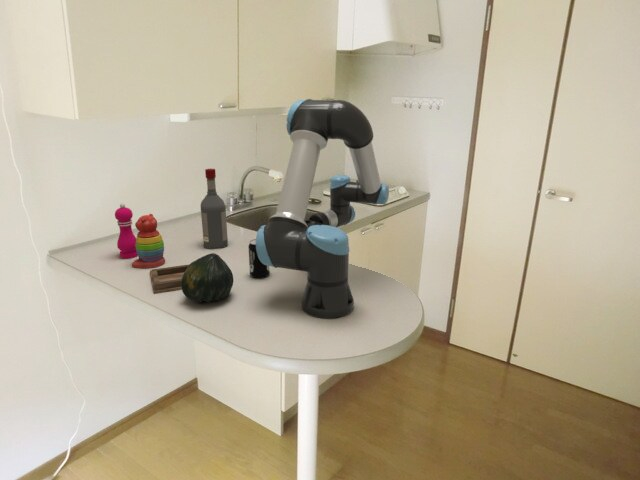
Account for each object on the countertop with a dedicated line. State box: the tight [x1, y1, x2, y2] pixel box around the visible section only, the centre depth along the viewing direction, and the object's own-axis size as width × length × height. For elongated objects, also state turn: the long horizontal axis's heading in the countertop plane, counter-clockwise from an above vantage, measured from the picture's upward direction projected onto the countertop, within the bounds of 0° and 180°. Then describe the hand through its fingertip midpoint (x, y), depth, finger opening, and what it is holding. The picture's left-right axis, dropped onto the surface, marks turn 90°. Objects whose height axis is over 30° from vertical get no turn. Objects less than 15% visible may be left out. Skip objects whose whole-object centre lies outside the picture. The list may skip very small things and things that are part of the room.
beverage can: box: [247, 238, 270, 279], centre depth 161 cm, size 7×7×12 cm
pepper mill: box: [114, 202, 138, 260], centre depth 177 cm, size 7×7×20 cm
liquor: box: [200, 168, 229, 250], centre depth 187 cm, size 9×9×30 cm
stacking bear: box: [131, 213, 166, 269], centre depth 171 cm, size 11×10×18 cm
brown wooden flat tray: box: [149, 263, 191, 294], centre depth 160 cm, size 18×16×3 cm
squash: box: [182, 252, 234, 303], centre depth 145 cm, size 14×15×15 cm
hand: (280, 235), depth 167 cm, fingers open, 13 cm apart
